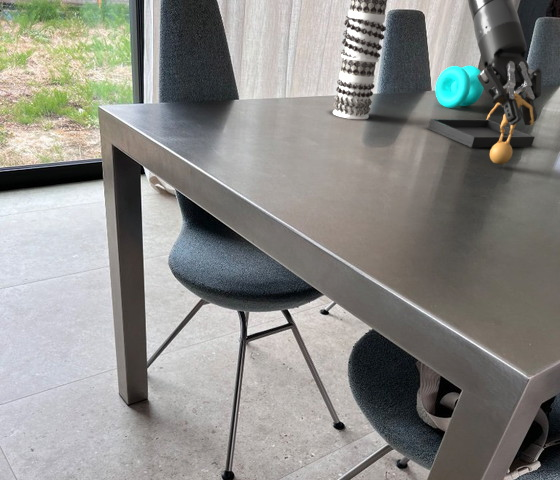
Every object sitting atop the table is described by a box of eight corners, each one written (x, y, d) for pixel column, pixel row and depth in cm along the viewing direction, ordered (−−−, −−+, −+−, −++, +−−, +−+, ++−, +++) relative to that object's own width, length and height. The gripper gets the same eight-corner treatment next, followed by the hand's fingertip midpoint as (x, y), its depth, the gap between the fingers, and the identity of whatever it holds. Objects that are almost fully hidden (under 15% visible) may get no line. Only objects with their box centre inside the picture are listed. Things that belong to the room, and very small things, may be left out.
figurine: (473, 163, 108) (486, 95, 100) (483, 153, 111) (496, 87, 104) (518, 170, 104) (535, 100, 96) (526, 160, 108) (543, 92, 100)
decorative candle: (325, 114, 130) (343, -17, 116) (339, 108, 137) (357, -16, 123) (362, 121, 128) (385, -11, 113) (374, 115, 135) (398, -10, 120)
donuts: (429, 103, 156) (438, 62, 150) (449, 101, 162) (459, 62, 156) (459, 112, 150) (471, 70, 144) (479, 109, 156) (491, 69, 150)
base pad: (485, 128, 136) (488, 119, 134) (531, 146, 125) (534, 136, 124) (427, 128, 129) (430, 119, 128) (471, 147, 118) (474, 137, 117)
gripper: (483, 16, 97) (509, 110, 96) (543, 22, 103) (568, 110, 101) (455, 47, 104) (479, 134, 102) (512, 50, 109) (535, 133, 108)
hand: (523, 122), depth 102 cm, fingers closed on figurine, 3 cm apart
